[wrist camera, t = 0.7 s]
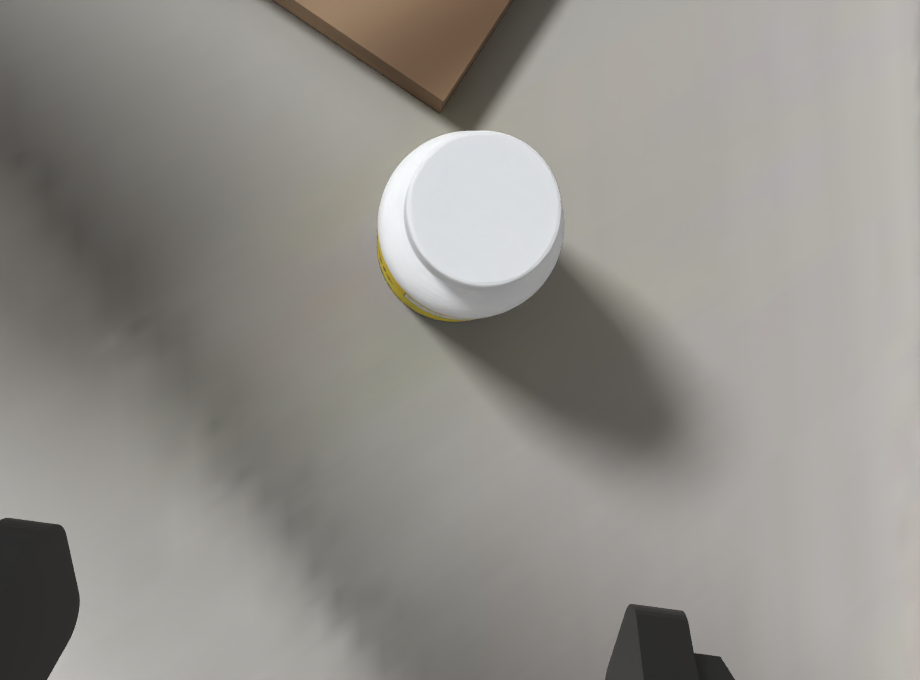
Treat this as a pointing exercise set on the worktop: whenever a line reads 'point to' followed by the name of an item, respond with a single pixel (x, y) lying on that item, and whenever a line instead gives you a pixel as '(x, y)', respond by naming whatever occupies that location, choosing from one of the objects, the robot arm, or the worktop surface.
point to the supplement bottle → (469, 226)
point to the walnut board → (408, 37)
